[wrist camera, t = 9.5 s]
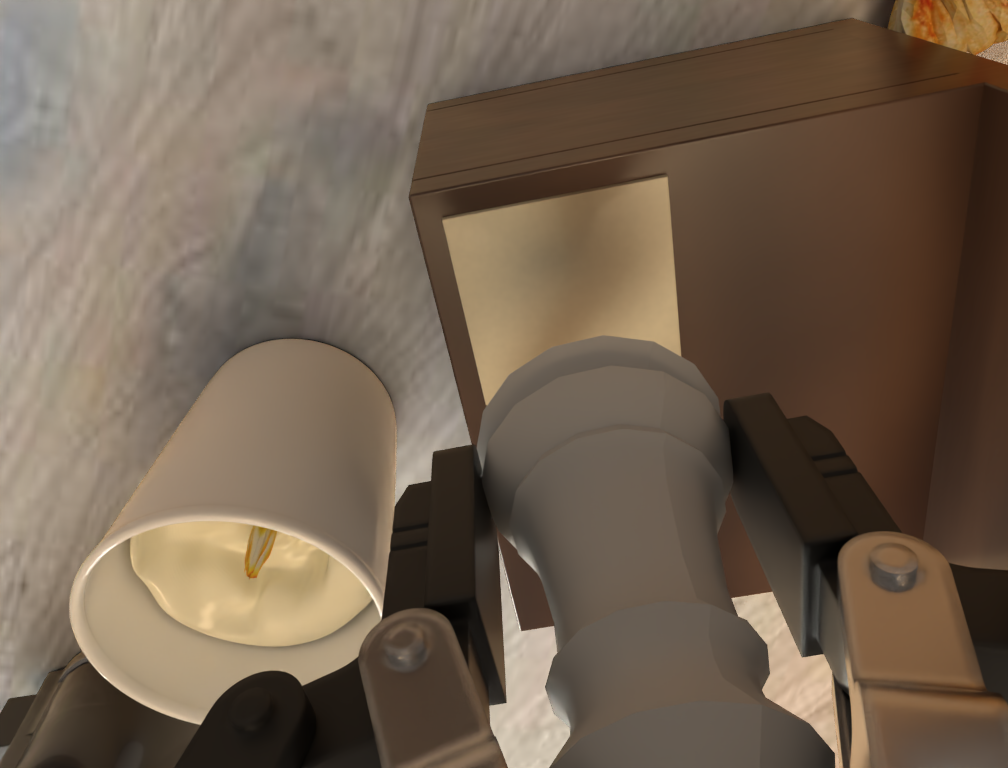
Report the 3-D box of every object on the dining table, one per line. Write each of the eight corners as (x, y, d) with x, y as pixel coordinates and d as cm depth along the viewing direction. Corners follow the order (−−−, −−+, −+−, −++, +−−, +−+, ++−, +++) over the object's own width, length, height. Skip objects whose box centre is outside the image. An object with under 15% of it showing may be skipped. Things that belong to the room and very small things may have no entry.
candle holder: (161, 459, 35) (37, 684, 25) (228, 281, 31) (111, 468, 21) (363, 530, 38) (324, 759, 28) (451, 376, 34) (443, 582, 24)
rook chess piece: (526, 288, 13) (594, 712, 6) (760, 364, 14) (1041, 804, 7) (443, 489, 15) (424, 967, 8) (651, 542, 16) (787, 1011, 9)
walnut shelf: (507, 456, 36) (529, 759, 23) (426, 104, 28) (391, 275, 15) (835, 400, 35) (1043, 684, 22) (853, 17, 27) (1201, 121, 14)
